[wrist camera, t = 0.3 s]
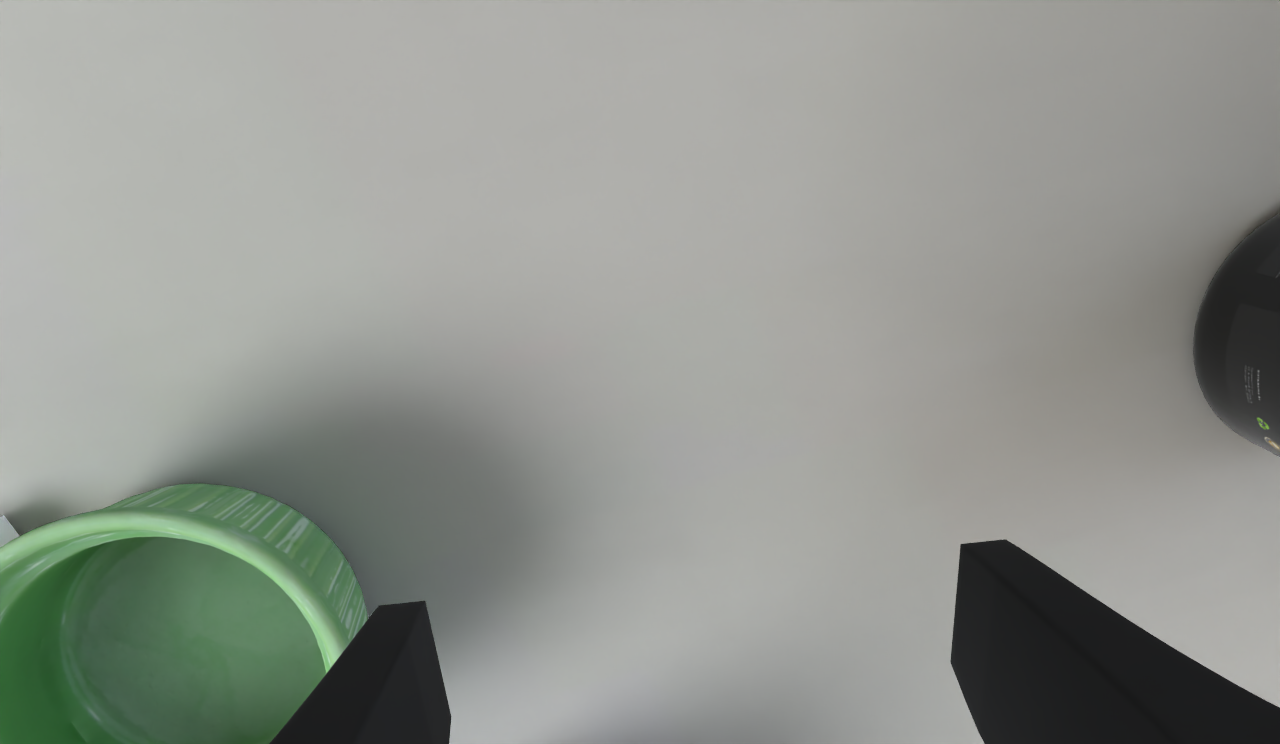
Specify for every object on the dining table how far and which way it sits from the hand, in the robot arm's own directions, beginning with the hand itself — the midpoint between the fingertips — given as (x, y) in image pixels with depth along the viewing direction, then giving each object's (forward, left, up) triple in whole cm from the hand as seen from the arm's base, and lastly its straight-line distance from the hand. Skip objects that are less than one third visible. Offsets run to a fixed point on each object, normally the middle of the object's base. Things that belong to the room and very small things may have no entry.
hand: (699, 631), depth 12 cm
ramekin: (-12, +3, -11) cm, 17 cm away
